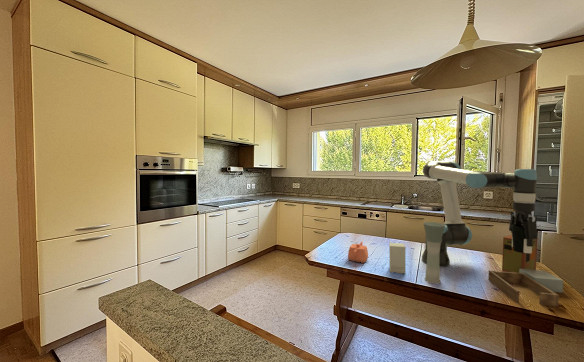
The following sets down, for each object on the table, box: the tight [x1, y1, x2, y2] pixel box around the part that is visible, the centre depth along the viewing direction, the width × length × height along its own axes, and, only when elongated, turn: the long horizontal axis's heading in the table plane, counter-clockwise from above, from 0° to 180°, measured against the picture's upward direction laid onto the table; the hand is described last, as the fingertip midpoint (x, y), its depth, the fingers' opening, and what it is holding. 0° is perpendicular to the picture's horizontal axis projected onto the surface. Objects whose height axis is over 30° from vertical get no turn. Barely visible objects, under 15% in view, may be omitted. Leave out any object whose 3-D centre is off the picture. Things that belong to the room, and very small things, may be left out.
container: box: [423, 221, 445, 284], centre depth 125 cm, size 10×10×30 cm
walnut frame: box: [487, 270, 560, 308], centre depth 114 cm, size 15×22×5 cm
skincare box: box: [388, 242, 407, 275], centre depth 137 cm, size 8×7×16 cm
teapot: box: [347, 241, 369, 264], centre depth 155 cm, size 12×18×10 cm, turn 149°
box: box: [501, 234, 539, 273], centre depth 136 cm, size 17×9×20 cm, turn 117°
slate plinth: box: [519, 269, 564, 294], centre depth 120 cm, size 11×11×6 cm
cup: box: [511, 224, 526, 253], centre depth 113 cm, size 8×8×12 cm
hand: (521, 249), depth 113 cm, fingers closed on cup, 8 cm apart
